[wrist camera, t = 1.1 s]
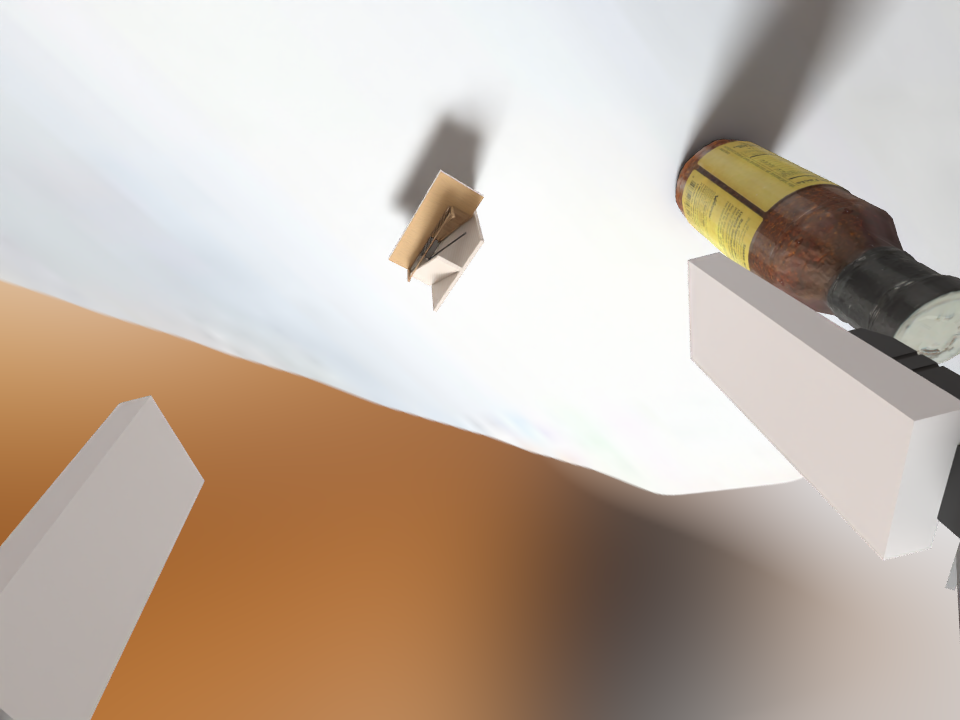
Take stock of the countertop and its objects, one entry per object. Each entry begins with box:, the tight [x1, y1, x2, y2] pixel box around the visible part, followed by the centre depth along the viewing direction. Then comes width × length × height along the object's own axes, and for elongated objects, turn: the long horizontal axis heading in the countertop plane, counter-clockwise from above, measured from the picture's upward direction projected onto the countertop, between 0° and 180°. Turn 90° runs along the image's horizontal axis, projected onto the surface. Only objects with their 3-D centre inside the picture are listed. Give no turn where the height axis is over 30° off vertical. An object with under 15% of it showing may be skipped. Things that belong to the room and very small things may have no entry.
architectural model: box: [389, 170, 484, 312], centre depth 35 cm, size 3×7×7 cm, turn 147°
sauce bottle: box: [675, 139, 960, 364], centre depth 30 cm, size 7×6×20 cm
